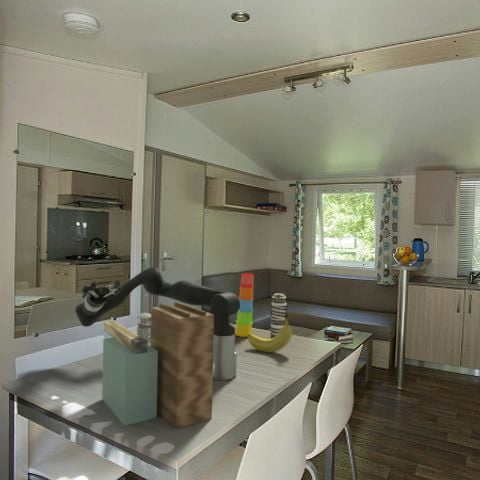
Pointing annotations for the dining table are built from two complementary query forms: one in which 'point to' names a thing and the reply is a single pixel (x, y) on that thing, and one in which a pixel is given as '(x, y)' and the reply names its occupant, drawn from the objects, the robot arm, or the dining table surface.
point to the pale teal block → (129, 382)
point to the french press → (144, 326)
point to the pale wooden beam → (126, 337)
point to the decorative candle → (277, 313)
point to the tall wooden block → (183, 362)
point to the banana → (273, 343)
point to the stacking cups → (245, 306)
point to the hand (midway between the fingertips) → (106, 282)
